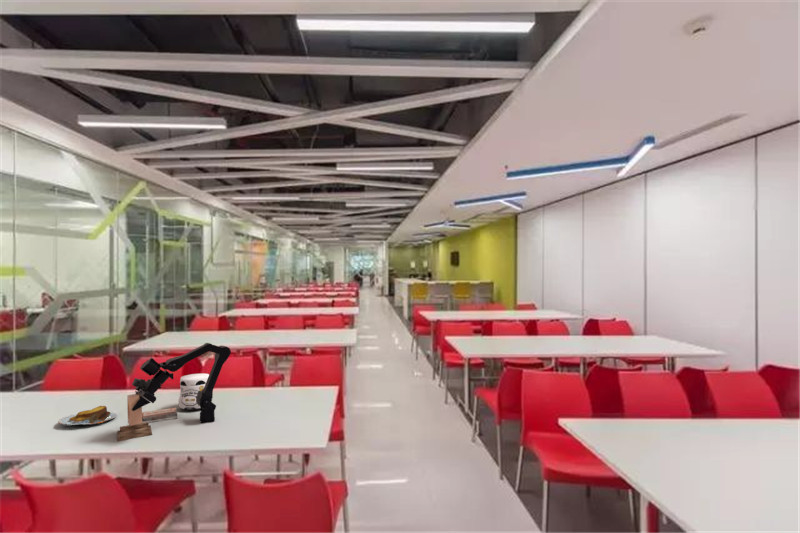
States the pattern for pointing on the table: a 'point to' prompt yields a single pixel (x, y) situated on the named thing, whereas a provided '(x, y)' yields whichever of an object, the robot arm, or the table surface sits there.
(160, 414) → the packaged product
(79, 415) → the food on plate
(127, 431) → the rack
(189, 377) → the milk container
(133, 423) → the clay bar
